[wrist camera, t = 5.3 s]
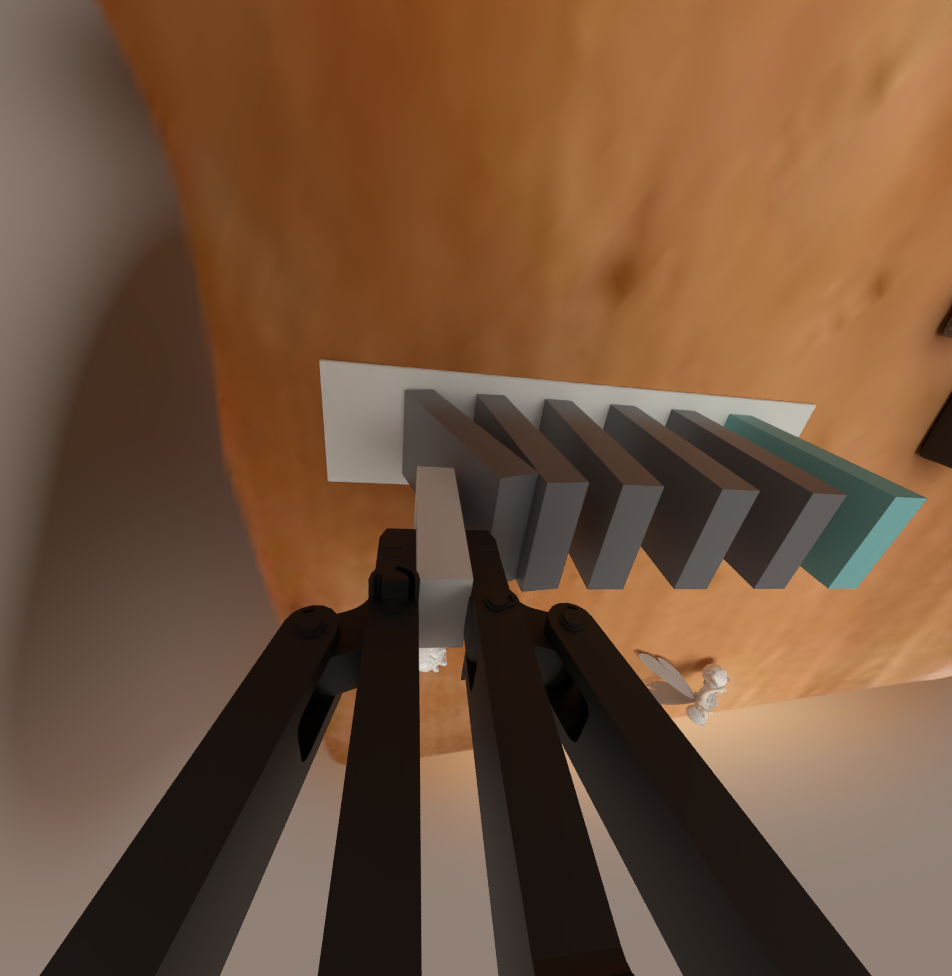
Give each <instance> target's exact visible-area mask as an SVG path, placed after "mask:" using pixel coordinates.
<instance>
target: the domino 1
mask: <svg viewBox="0 0 952 976" xmlns="http://www.w3.org/2000/svg"><path fill="white" fill-rule="evenodd" d="M417 466H425V467H443V468H454V471H455V477H456V482H457V488H458V494H459V500H460V505H461V511H462V517H463V523H464V528H465V530H488V531H489V533H490V534H491V535H492V536H493V537H494V538H495V539H496V543H497V546H498V551H499V554H500V559H501V561H502V564H503V568H504V572H505V575H506V579H507V581H511V580H514V579H516V575H517V570H518V566H519V561H520V557H521V552H522V548H523V543H524V539H525V534H526V530H527V525H528V521H529V516H530V512H531V507H532V503H533V498H534V494H535V489H536V485H537V480H538V476H539V472H537V471H536V470H535V469H534V468H532V467H531V466H530V465H528V464H527V463H526V462H525V461H523V460H522V459H521V458H520V457H518V456H517V455H516V454H514V453H513V452H512V451H511V450H509V449H508V448H507V447H506V446H504V445H503V444H502V443H501V442H499V441H498V440H497V439H495V438H494V437H493V436H492V435H490V434H489V433H488V432H487V431H485V430H484V429H483V428H481V427H480V426H479V425H478V424H476V423H475V422H474V421H473V420H471V419H470V418H469V417H468V416H466V415H465V414H464V413H462V412H461V411H460V410H459V409H457V408H456V407H455V406H454V405H452V404H451V403H450V402H448V401H447V400H446V399H445V398H443V397H442V396H441V395H440V394H438V393H437V392H436V391H435V390H433V389H427V390H405V397H404V429H403V460H402V475H403V476H404V478H405V479H406V480H407V482H408V483H409V485H410V486H411V488H412V489H413V490H414V492H415V493H416V479H417Z"/></svg>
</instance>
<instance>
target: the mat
mask: <svg viewBox="0 0 952 976" xmlns="http://www.w3.org/2000/svg"><path fill="white" fill-rule="evenodd" d="M319 364H320V378H321V392H322V406H323V420H324V434H325V447H326V461H327V475H328V481H334V482H359V483H383V484H407V485H409V483H408V482H407V480H406V479H405V478H404V476H403V475H402V460H403V429H404V397H405V390H427V389H433V390H435V391H436V392H437V393H438V394H440V395H441V396H442V397H443V398H445V399H446V400H447V401H448V402H450V403H451V404H452V405H454V406H455V407H456V408H457V409H459V410H460V411H461V412H462V413H464V414H465V415H466V416H468V417H469V418H470V419H471V420H473V421H474V414H475V405H476V397H477V394H489V395H505V396H506V397H507V398H508V399H509V400H510V401H511V403H512V404H513V405H514V406H515V407H516V408H517V409H518V410H519V411H520V412H521V413H522V414H523V415H524V416H525V417H526V418H527V419H528V420H529V421H530V422H531V423H532V424H533V425H534V426H535V427H536V428H537V429H538V430H539V426H540V422H541V417H542V412H543V407H544V402H545V399H556V400H569V401H573V402H574V403H575V404H576V405H577V406H578V407H579V408H580V409H581V410H582V411H583V412H584V413H585V414H587V415H588V416H589V417H590V418H591V419H592V420H593V421H594V422H595V423H596V424H597V425H598V426H600V427H601V428H602V429H603V427H604V424H605V420H606V417H607V413H608V410H609V407H610V404H617V405H629V406H636V407H637V408H639V409H640V410H642V411H643V412H645V413H646V414H648V415H649V416H651V417H652V418H654V419H655V420H657V421H658V422H659V423H661V424H662V425H664V426H665V425H666V423H667V420H668V417H669V415H670V412H671V409H678V410H690V411H696V412H698V413H700V414H702V415H703V416H705V417H707V418H709V419H711V420H713V421H714V422H716V423H718V424H720V425H722V426H723V427H724V425H725V423H726V420H727V418H728V416H729V414H739V415H751V416H754V417H756V418H758V419H760V420H762V421H764V422H766V423H769V424H771V425H773V426H775V427H777V428H779V429H781V430H783V431H786V432H788V433H790V434H792V435H794V436H796V437H799V436H800V434H801V432H802V430H803V428H804V427H805V425H806V423H807V421H808V419H809V418H810V416H811V414H812V412H813V410H814V409H815V407H816V405H814V404H810V403H799V402H788V401H777V400H766V399H755V398H744V397H733V396H721V395H710V394H699V393H688V392H677V391H666V390H655V389H644V388H633V387H622V386H611V385H600V384H589V383H578V382H567V381H556V380H545V379H534V378H523V377H512V376H501V375H490V374H479V373H468V372H457V371H446V370H435V369H424V368H413V367H402V366H391V365H380V364H369V363H358V362H347V361H336V360H325V359H320V360H319Z"/></svg>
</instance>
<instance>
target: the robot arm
mask: <svg viewBox="0 0 952 976" xmlns="http://www.w3.org/2000/svg"><path fill="white" fill-rule="evenodd" d="M463 640H464V641H465V649H466V651H465V657H464V663H463V669H462V676H461V680H465V679H466V688H467V697H468V706H469V715H470V724H471V733H472V742H473V751H474V759H475V769H476V777H477V787H478V795H479V805H480V812H481V823H482V832H483V840H484V850H485V858H486V867H487V877H488V886H489V893H490V903H491V912H492V921H493V930H494V939H495V948H496V956H497V966H498V975H499V976H635V975H634V974H633V973H632V972H631V970H630V967H629V966H628V963H627V962H626V959H625V956H624V953H623V950H622V947H621V944H620V941H619V937H618V934H617V931H616V927H615V924H614V921H613V917H612V914H611V910H610V907H609V903H608V900H607V897H606V893H605V890H604V886H603V883H602V880H601V876H600V873H599V870H598V866H597V863H596V859H595V856H594V852H593V849H592V846H591V842H590V839H589V836H588V832H587V829H586V825H585V822H584V818H583V815H582V812H581V808H580V805H579V802H578V798H577V795H576V791H575V788H574V784H573V781H572V777H571V774H570V771H569V767H568V764H567V760H566V757H565V754H564V751H563V747H564V749H565V751H566V752H567V754H568V756H569V758H570V760H571V762H572V764H573V766H574V768H575V770H576V772H577V773H578V775H579V777H580V779H581V781H582V783H583V785H584V787H585V789H586V791H587V793H588V794H589V796H590V798H591V800H592V802H593V804H594V806H595V808H596V810H597V812H598V813H599V816H600V817H601V819H602V821H603V823H604V825H605V827H606V829H607V831H608V833H609V835H610V837H611V839H612V840H613V842H614V844H615V846H616V848H617V850H618V852H619V854H620V856H621V858H622V860H623V861H624V863H625V865H626V867H627V868H628V871H629V873H630V875H631V877H632V879H633V881H634V883H635V884H636V886H637V888H638V890H639V892H640V894H641V896H642V898H643V900H644V902H645V903H646V905H647V907H648V909H649V911H650V913H651V915H652V917H653V919H654V921H655V923H656V925H657V927H658V928H659V930H660V932H661V934H662V936H663V938H664V940H665V942H666V944H667V946H668V948H669V949H670V951H671V953H672V955H673V957H674V959H675V961H676V963H677V965H678V967H679V968H680V970H681V972H682V974H683V976H871V975H870V973H869V972H868V971H867V969H866V968H865V967H864V966H863V964H862V963H861V962H860V960H859V959H858V958H857V957H856V955H855V954H854V953H853V952H852V950H851V949H850V948H849V946H848V945H847V944H846V942H845V941H844V940H843V939H842V937H841V936H840V935H839V934H838V932H837V931H836V930H835V928H834V927H833V926H832V925H831V923H830V922H829V921H828V919H827V918H826V917H825V915H824V914H823V913H822V912H821V910H820V909H819V908H818V906H817V905H816V904H815V903H814V901H813V900H812V899H811V898H810V896H809V895H808V894H807V893H806V891H805V890H804V888H803V887H802V886H801V885H800V883H799V882H798V881H797V879H796V878H795V877H794V876H793V875H792V873H791V872H790V871H789V869H788V868H787V867H786V865H785V864H784V863H783V862H782V860H781V859H780V858H779V857H778V855H777V854H776V853H775V851H774V850H773V849H772V847H771V846H770V845H769V844H768V842H767V841H766V840H765V838H764V837H763V836H762V835H761V833H760V832H759V831H758V829H757V828H756V827H755V826H754V824H753V823H752V822H751V820H750V819H749V818H748V817H747V815H746V814H745V813H744V811H743V810H742V809H741V808H740V806H739V805H738V804H737V802H736V801H735V800H734V799H733V797H732V796H731V795H730V794H729V792H728V791H727V790H726V788H725V787H724V786H723V784H722V783H721V782H720V781H719V779H718V778H717V777H716V776H715V774H714V773H713V772H712V770H711V769H710V768H709V767H708V765H707V764H706V763H705V762H704V760H703V759H702V758H701V756H700V755H699V754H698V752H697V751H696V750H695V748H694V747H693V746H692V745H691V743H690V742H689V741H688V740H687V738H686V737H685V736H684V734H683V733H682V732H681V731H680V730H679V728H678V727H677V725H676V724H675V723H674V722H673V720H672V719H671V718H670V716H669V715H668V714H667V713H666V711H665V710H664V709H663V707H662V706H661V705H660V704H659V702H658V701H657V700H656V698H655V697H654V696H653V695H652V693H651V692H650V691H649V689H648V688H647V687H646V686H645V684H644V683H643V682H642V680H641V679H640V678H639V677H638V675H637V674H636V673H635V671H634V670H633V669H632V668H631V666H630V665H629V664H628V662H627V661H626V660H625V659H624V657H623V656H622V655H621V653H620V652H619V651H618V650H617V648H616V647H615V646H614V644H613V643H612V642H611V641H610V639H609V638H608V637H607V635H606V634H605V633H604V632H603V630H602V629H601V628H600V626H599V625H598V624H597V623H596V621H595V620H594V619H593V617H592V616H591V615H590V614H589V613H588V612H587V611H586V610H584V609H583V608H581V607H579V606H577V605H574V604H570V603H559V604H556V605H554V606H552V608H551V609H550V610H549V612H545V611H541V610H538V609H534V608H531V607H528V606H526V605H524V604H522V603H520V601H519V599H518V598H517V596H516V595H515V594H514V593H513V592H512V591H511V590H510V589H509V586H508V582H507V579H506V575H505V572H504V568H503V564H502V561H501V559H500V554H499V551H498V546H497V543H496V539H495V538H494V537H493V536H492V535H491V534H490V533H489V531H488V530H465V528H464V523H463V517H462V511H461V505H460V500H459V494H458V488H457V482H456V477H455V471H454V468H443V467H425V466H417V479H416V496H415V513H414V529H390V528H387V529H386V530H385V532H384V533H383V534H382V535H381V536H380V539H379V546H378V554H377V561H376V569H375V570H374V571H373V572H372V573H371V575H370V577H369V598H368V600H367V601H366V602H365V603H363V604H362V605H361V606H359V607H357V608H355V609H352V610H349V611H346V612H342V613H338V614H336V613H335V612H334V611H333V610H332V609H331V608H328V607H325V606H318V605H312V606H308V607H304V608H301V609H299V610H297V611H295V612H293V613H292V614H291V615H290V616H289V617H288V618H287V619H286V620H285V621H284V622H283V624H282V625H281V627H280V628H279V630H278V631H277V633H276V634H275V636H274V637H273V639H272V640H271V641H270V643H269V644H268V646H267V647H266V649H265V650H264V651H263V653H262V654H261V656H260V657H259V659H258V660H257V662H256V663H255V664H254V666H253V667H252V669H251V671H250V672H249V673H248V675H247V676H246V678H245V679H244V681H243V682H242V683H241V685H240V686H239V688H238V689H237V691H236V692H235V693H234V695H233V696H232V698H231V699H230V701H229V702H228V704H227V705H226V707H225V708H224V709H223V711H222V712H221V714H220V715H219V717H218V718H217V720H216V721H215V722H214V724H213V725H212V727H211V729H210V730H209V731H208V733H207V734H206V736H205V737H204V738H203V740H202V742H201V743H200V744H199V746H198V747H197V748H196V750H195V751H194V753H193V754H192V756H191V757H190V759H189V760H188V762H187V763H186V764H185V766H184V767H183V769H182V770H181V772H180V773H179V775H178V776H177V778H176V779H175V780H174V782H173V783H172V785H171V786H170V788H169V789H168V790H167V792H166V794H165V795H164V796H163V798H162V799H161V801H160V802H159V804H158V805H157V806H156V808H155V809H154V811H153V812H152V814H151V815H150V817H149V818H148V819H147V821H146V822H145V824H144V825H143V827H142V828H141V830H140V831H139V832H138V834H137V835H136V837H135V838H134V840H133V841H132V843H131V844H130V846H129V847H128V848H127V850H126V851H125V853H124V854H123V856H122V857H121V859H120V860H119V862H118V863H117V864H116V866H115V868H114V869H113V870H112V872H111V873H110V875H109V876H108V877H107V879H106V881H105V882H104V883H103V885H102V886H101V888H100V889H99V890H98V892H97V894H96V895H95V896H94V898H93V899H92V901H91V902H90V903H89V905H88V906H87V908H86V909H85V911H84V913H83V914H82V915H81V917H80V918H79V919H78V921H77V922H76V924H75V925H74V927H73V928H72V930H71V931H70V932H69V934H68V935H67V937H66V938H65V940H64V941H63V943H62V944H61V946H60V947H59V949H58V950H57V951H56V953H55V954H54V956H53V957H52V958H51V960H50V961H49V963H48V964H47V966H46V967H45V969H44V970H43V972H42V973H41V974H40V976H220V974H221V972H222V969H223V967H224V965H225V962H226V960H227V958H228V955H229V953H230V951H231V949H232V946H233V944H234V942H235V939H236V937H237V935H238V932H239V930H240V928H241V926H242V923H243V921H244V919H245V916H246V914H247V912H248V909H249V907H250V905H251V903H252V900H253V898H254V896H255V893H256V891H257V889H258V886H259V884H260V882H261V879H262V877H263V875H264V873H265V870H266V868H267V866H268V863H269V861H270V859H271V856H272V854H273V852H274V850H275V847H276V845H277V843H278V840H279V838H280V836H281V833H282V831H283V829H284V827H285V824H286V822H287V820H288V817H289V815H290V812H291V810H292V808H293V806H294V803H295V801H296V799H297V797H298V794H299V792H300V790H301V787H302V785H303V783H304V780H305V778H306V776H307V774H308V771H309V769H310V766H311V764H312V762H313V760H314V757H315V755H316V753H317V750H318V748H319V746H320V744H321V741H322V739H323V737H324V734H325V732H326V730H327V727H328V725H329V723H330V721H331V718H332V716H333V714H334V711H335V709H336V707H337V704H338V702H339V700H340V698H341V695H342V693H344V692H346V691H349V690H352V689H355V688H357V692H356V700H355V707H354V714H353V722H352V729H351V736H350V744H349V751H348V758H347V765H346V773H345V780H344V788H343V795H342V802H341V809H340V818H339V824H338V831H337V839H336V846H335V853H334V861H333V868H332V876H331V882H330V890H329V897H328V904H327V912H326V919H325V926H324V934H323V941H322V948H321V956H320V963H319V970H318V976H422V970H421V847H420V846H421V842H420V841H421V840H420V711H419V648H446V647H462V646H463ZM562 744H563V747H562Z"/></svg>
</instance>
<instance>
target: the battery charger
mask: <svg viewBox="0 0 952 976" xmlns="http://www.w3.org/2000/svg"><path fill="white" fill-rule="evenodd" d="M920 456H921V457H923V458H925V459H928V460H931V461H934V462H936V463H939V464H942V465H944V466H947V467H949V468H952V398H951V400H950V402H949V403H948V405H947V406H946V408H945V409H944V411H943V413H942V414H941V416H940V418H939V419H938V421H937V423H936V424H935V426H934V428H933V430H932V431H931V433H930V435H929V437H928V438H927V440H926V442H925V444H924V446H923V448H922V450H921V452H920Z"/></svg>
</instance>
